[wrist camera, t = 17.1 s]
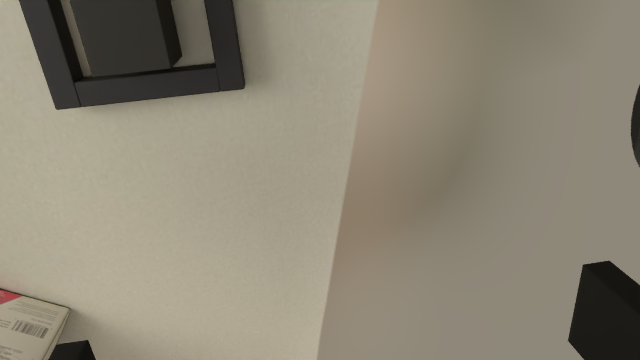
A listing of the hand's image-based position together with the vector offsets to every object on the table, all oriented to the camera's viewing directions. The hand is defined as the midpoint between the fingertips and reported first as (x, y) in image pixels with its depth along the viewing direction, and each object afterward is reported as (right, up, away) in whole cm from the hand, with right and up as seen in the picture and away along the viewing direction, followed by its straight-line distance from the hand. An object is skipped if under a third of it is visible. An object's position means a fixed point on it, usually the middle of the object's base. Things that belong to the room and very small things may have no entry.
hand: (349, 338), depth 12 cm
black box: (-14, +17, +20) cm, 30 cm away
